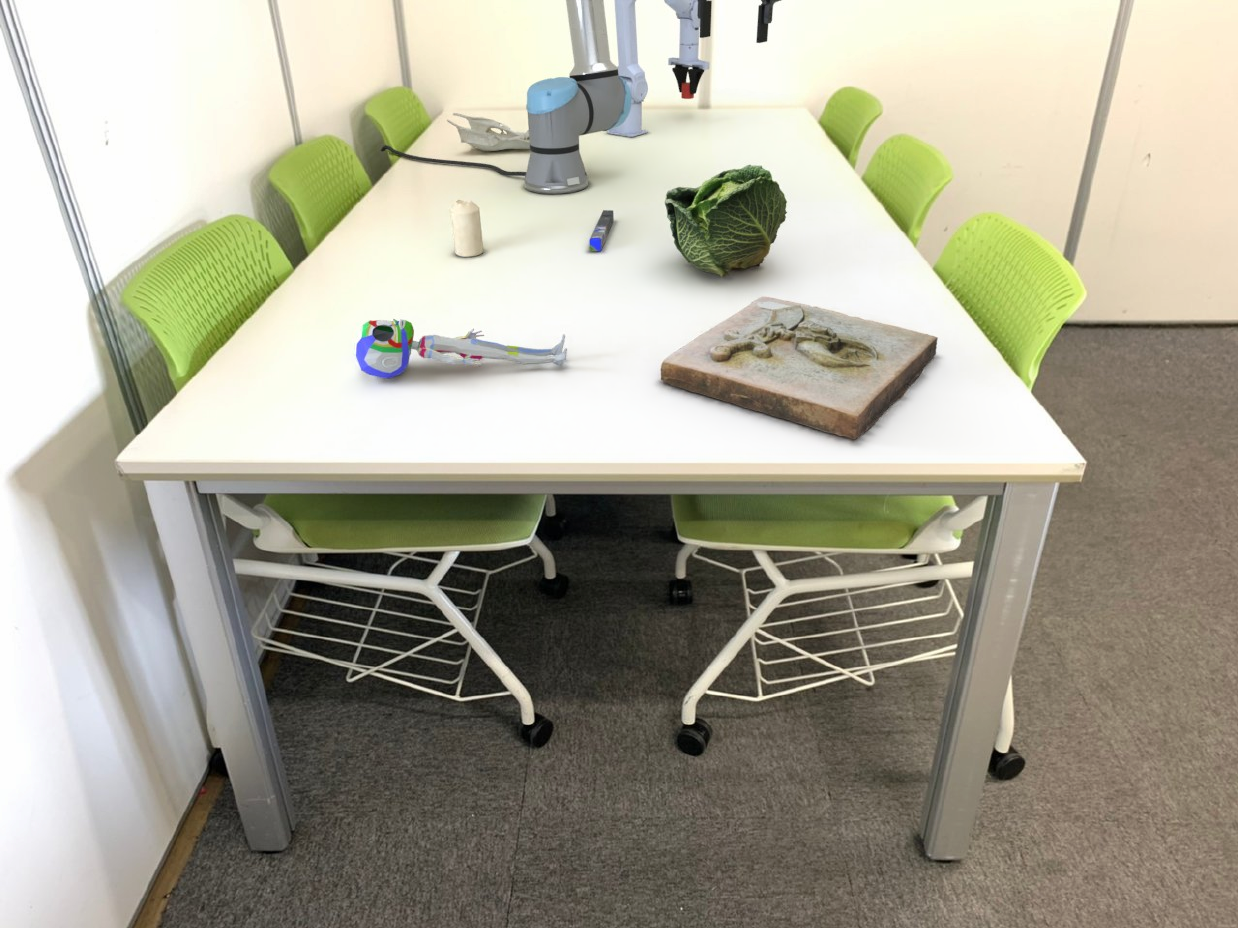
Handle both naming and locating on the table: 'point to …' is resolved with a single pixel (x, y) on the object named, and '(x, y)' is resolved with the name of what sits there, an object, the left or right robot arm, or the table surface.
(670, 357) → the plaque
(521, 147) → the anatomical model
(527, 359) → the toy
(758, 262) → the vegetable
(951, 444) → the table surface
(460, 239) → the candle
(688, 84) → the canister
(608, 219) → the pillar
